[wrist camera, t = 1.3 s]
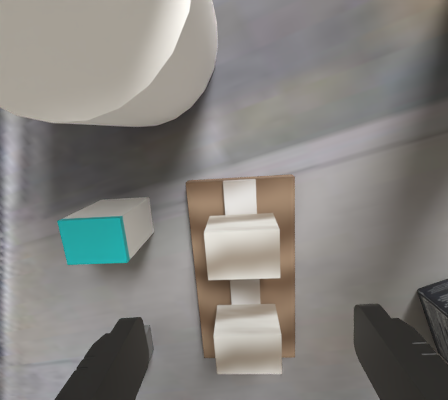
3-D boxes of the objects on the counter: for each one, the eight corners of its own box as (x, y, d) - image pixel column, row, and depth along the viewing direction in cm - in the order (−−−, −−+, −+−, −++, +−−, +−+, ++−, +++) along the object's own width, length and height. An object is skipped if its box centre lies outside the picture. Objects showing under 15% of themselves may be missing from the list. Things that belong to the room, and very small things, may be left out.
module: (101, 199, 32) (57, 220, 24) (149, 197, 32) (119, 217, 24) (107, 233, 33) (67, 264, 25) (154, 231, 33) (127, 262, 25)
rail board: (188, 180, 31) (172, 195, 24) (291, 174, 30) (307, 187, 23) (205, 349, 37) (197, 400, 30) (292, 348, 36) (305, 401, 29)
